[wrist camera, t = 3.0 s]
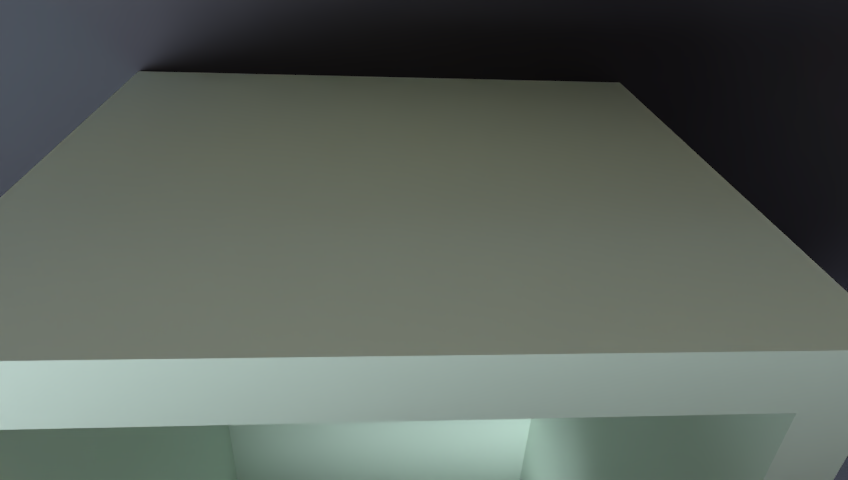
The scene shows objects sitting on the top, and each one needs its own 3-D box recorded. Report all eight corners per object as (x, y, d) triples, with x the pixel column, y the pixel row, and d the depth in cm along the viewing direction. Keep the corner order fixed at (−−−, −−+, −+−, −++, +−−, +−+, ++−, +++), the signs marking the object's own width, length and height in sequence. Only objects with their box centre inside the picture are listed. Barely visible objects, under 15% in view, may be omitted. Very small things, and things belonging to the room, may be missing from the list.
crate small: (619, 82, 9) (910, 348, 4) (530, 503, 15) (615, 851, 10) (138, 71, 9) (-180, 363, 4) (224, 513, 14) (139, 888, 9)
